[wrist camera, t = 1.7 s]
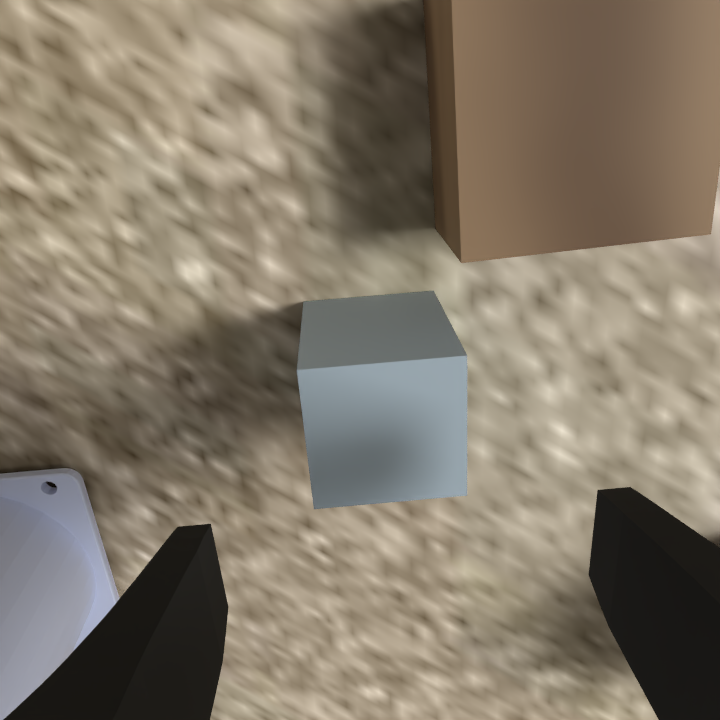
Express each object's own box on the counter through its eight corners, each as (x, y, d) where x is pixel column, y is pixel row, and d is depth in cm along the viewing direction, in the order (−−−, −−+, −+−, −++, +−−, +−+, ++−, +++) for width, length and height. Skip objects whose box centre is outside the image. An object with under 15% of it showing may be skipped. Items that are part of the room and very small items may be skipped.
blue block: (316, 414, 21) (314, 509, 16) (303, 300, 19) (296, 370, 14) (436, 404, 21) (466, 495, 16) (433, 290, 19) (467, 355, 15)
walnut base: (434, 227, 18) (461, 263, 15) (421, -5, 16) (450, -30, 12) (634, 204, 18) (710, 234, 15) (652, -31, 16) (749, -64, 12)
